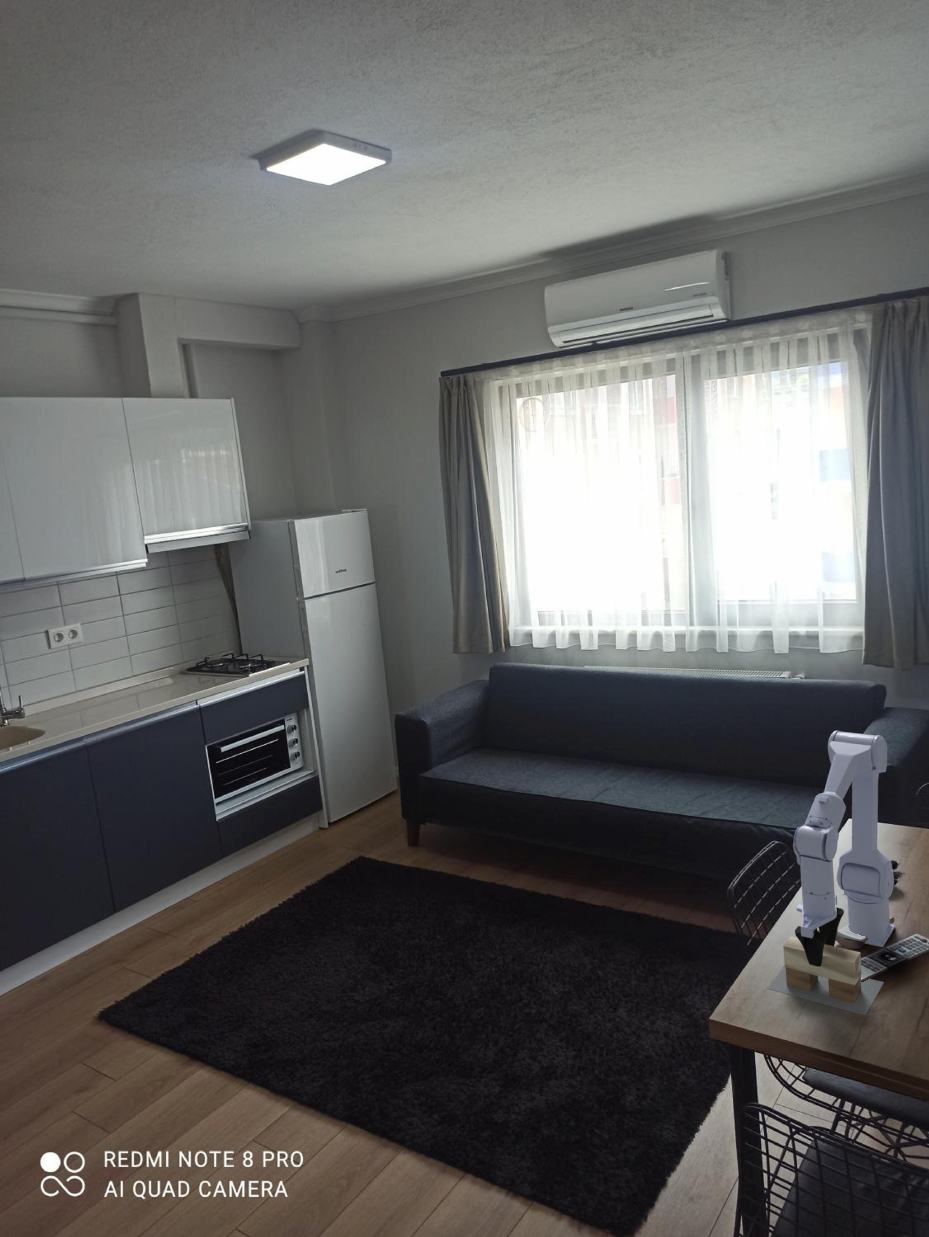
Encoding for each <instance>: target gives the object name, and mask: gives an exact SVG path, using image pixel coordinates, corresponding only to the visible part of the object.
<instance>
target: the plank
mask: <svg viewBox="0 0 929 1237" xmlns="http://www.w3.org/2000/svg"><path fill="white" fill-rule="evenodd" d="M782 946H783V959H784V961H783V962H784V966H785V968H789V969H793V970H797V971H800V972H804V973H808V974H812V975H816V976H820V977H824V978H828V979H832V980H836V981H840V982H844V983H848V984H852V985H856V983H857V981H858V980H859V978H860V976H861V977H862V975H863V973H862V957H861V952H859V951H855V950H850V949H847V948H842V947H838V946H835V945H834V946H830V945H826V944H824V949H823V959H822V964H821V966H820V967H817V966H813V965H810V964H809V962H808V960H807V957H806V954H805V951H804V948H803V946H802V944H801V942H800V941H799V939H798V938H797V937H796V936H789V938H788V939H787V941H786V942H785V943H784V944H783V945H782Z"/></svg>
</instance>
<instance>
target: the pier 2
mask: <svg viewBox="0 0 929 1237" xmlns="http://www.w3.org/2000/svg"><path fill="white" fill-rule="evenodd" d="M861 977H862V975H861V976H860V978H859V980H858V981H857V983H856V985H852V984H848V983H844V982H840V981H836V980H832V979H828V984H829V997H833V998H837V999H840V1000H844V1001H848V1002H852V1003H855V1001H856V999H857V998H858V996H859V994H860V993H861Z"/></svg>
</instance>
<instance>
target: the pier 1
mask: <svg viewBox="0 0 929 1237" xmlns="http://www.w3.org/2000/svg"><path fill="white" fill-rule="evenodd" d="M817 981H818V976H816V975H812V974H808V973H804V972H800V971H797V970H793V969H789V968H786V982H787V985H788V986H792V987H796V988H799V989H803V990H807V991H811V990H812V988H813V987H814V985H815V984H816V982H817Z"/></svg>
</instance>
